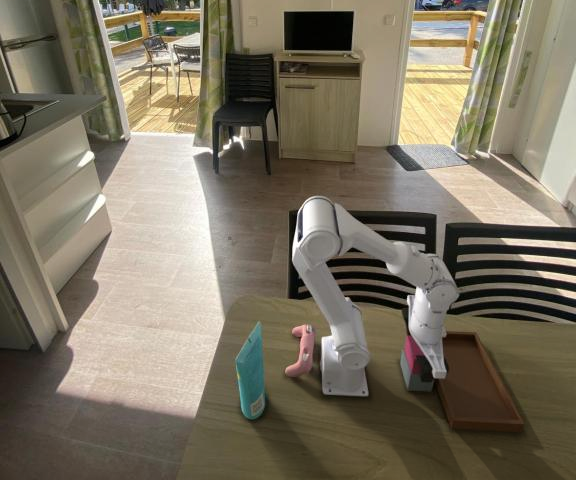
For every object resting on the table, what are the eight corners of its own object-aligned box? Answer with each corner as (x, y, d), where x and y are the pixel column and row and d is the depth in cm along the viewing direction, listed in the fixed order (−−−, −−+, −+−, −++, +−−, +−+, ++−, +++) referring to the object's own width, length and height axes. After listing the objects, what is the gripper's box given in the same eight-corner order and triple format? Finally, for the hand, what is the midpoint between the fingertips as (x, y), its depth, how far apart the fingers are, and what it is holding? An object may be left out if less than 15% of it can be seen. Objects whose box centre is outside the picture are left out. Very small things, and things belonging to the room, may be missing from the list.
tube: (252, 378, 64) (248, 315, 58) (272, 389, 62) (270, 325, 56) (232, 420, 58) (226, 354, 52) (254, 434, 56) (249, 368, 50)
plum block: (411, 373, 61) (414, 359, 60) (404, 349, 65) (406, 335, 64) (433, 374, 61) (436, 360, 59) (424, 350, 65) (427, 335, 64)
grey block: (407, 390, 62) (410, 375, 61) (399, 362, 67) (402, 347, 66) (431, 391, 62) (435, 376, 61) (422, 363, 67) (425, 348, 65)
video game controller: (301, 386, 64) (316, 371, 62) (282, 376, 64) (297, 360, 62) (307, 338, 73) (320, 323, 71) (291, 328, 73) (304, 313, 71)
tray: (451, 428, 57) (453, 420, 56) (419, 337, 72) (420, 329, 71) (521, 432, 56) (524, 424, 55) (474, 339, 72) (476, 332, 71)
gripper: (468, 356, 52) (454, 404, 56) (433, 281, 65) (424, 324, 70) (427, 354, 52) (417, 402, 56) (400, 280, 66) (394, 323, 70)
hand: (418, 359), depth 63 cm, fingers open, 7 cm apart
